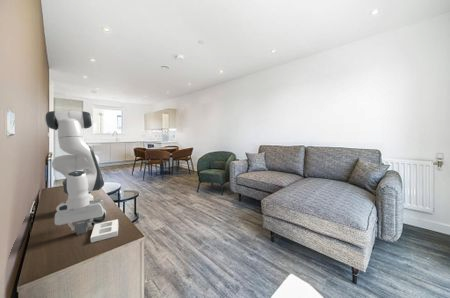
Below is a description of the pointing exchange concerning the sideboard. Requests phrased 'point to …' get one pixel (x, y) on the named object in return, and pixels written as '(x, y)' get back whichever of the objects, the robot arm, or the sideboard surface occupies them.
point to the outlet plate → (104, 230)
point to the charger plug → (81, 227)
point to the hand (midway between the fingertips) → (81, 228)
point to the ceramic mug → (98, 218)
